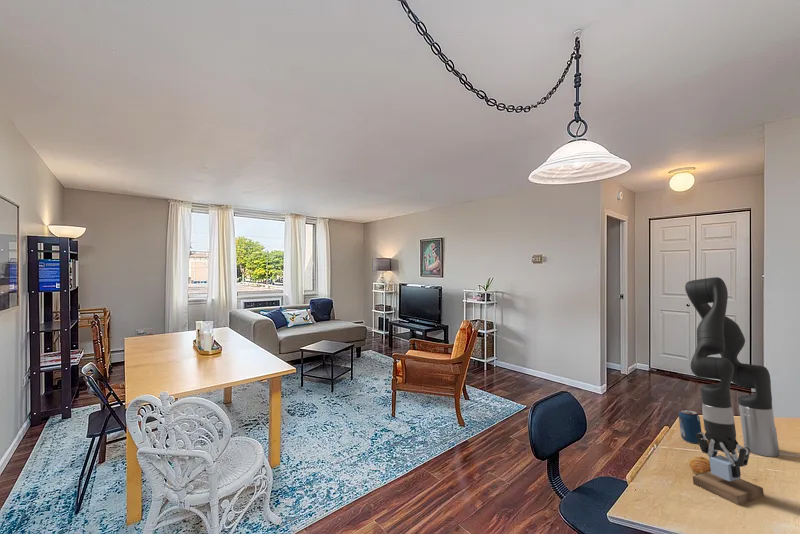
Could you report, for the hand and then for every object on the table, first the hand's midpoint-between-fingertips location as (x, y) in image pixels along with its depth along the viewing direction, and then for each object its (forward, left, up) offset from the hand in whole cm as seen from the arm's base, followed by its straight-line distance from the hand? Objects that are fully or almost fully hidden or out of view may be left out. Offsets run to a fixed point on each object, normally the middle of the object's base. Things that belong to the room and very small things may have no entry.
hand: (725, 472), depth 108 cm
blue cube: (0, 0, -1) cm, 1 cm away
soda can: (-27, -28, -6) cm, 39 cm away
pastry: (-6, -11, -6) cm, 13 cm away
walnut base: (0, 0, -6) cm, 6 cm away
